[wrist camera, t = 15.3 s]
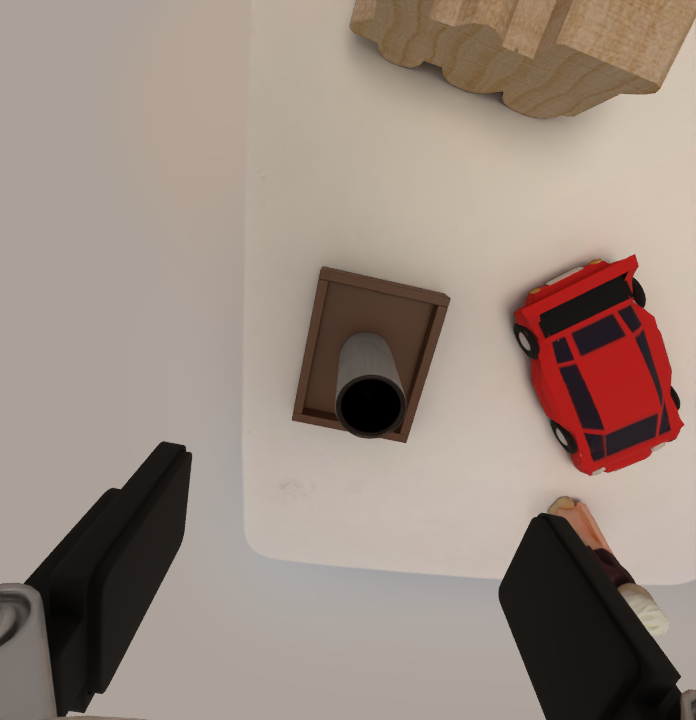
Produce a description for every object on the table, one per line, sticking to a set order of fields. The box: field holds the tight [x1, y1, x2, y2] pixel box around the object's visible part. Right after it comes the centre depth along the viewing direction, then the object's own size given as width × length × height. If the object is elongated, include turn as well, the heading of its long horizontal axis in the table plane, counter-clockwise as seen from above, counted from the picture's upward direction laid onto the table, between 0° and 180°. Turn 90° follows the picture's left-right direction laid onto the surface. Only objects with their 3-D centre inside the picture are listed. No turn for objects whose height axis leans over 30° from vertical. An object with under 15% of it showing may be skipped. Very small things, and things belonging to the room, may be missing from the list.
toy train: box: [350, 0, 696, 118], centre depth 23 cm, size 6×17×10 cm, turn 72°
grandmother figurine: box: [548, 497, 669, 636], centre depth 34 cm, size 8×4×13 cm, turn 58°
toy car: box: [514, 254, 684, 476], centre depth 33 cm, size 10×20×5 cm, turn 32°
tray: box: [292, 266, 450, 443], centre depth 34 cm, size 14×11×2 cm
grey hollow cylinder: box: [335, 332, 406, 439], centre depth 29 cm, size 4×4×10 cm
